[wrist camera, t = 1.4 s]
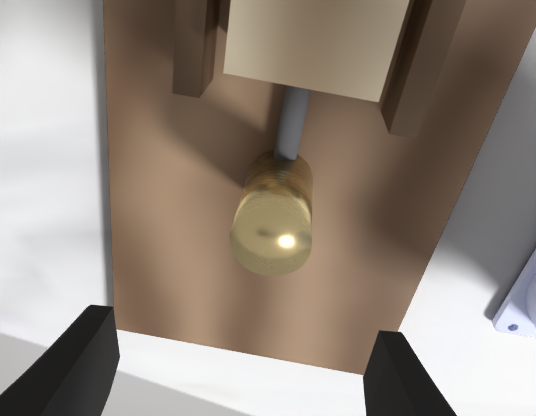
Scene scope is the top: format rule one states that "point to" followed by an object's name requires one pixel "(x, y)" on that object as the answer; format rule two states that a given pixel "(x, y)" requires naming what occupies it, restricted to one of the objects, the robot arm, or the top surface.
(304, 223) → the cream block with stem
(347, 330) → the walnut lane shelf
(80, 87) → the top surface
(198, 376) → the top surface
